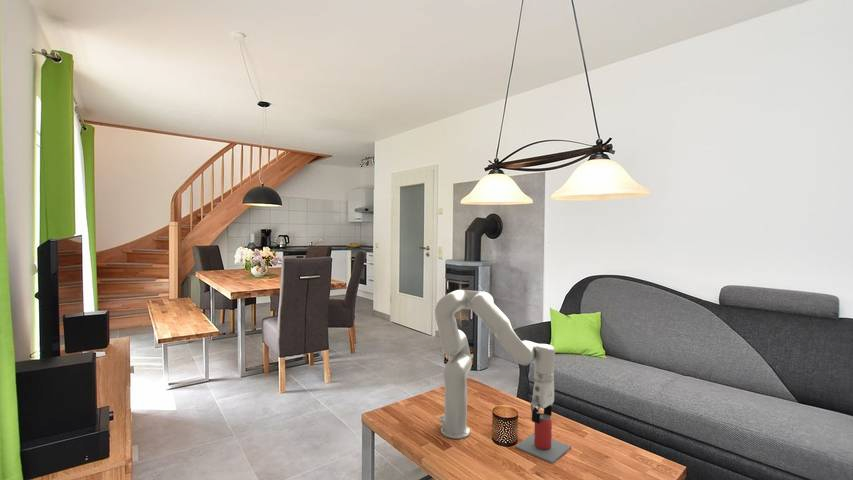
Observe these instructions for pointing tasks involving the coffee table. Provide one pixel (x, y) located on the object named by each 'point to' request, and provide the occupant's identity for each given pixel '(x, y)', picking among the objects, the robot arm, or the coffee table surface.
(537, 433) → the beer can
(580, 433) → the coffee table surface
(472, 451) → the coffee table surface
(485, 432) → the coffee table surface
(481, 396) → the coffee table surface
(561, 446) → the slate mat
